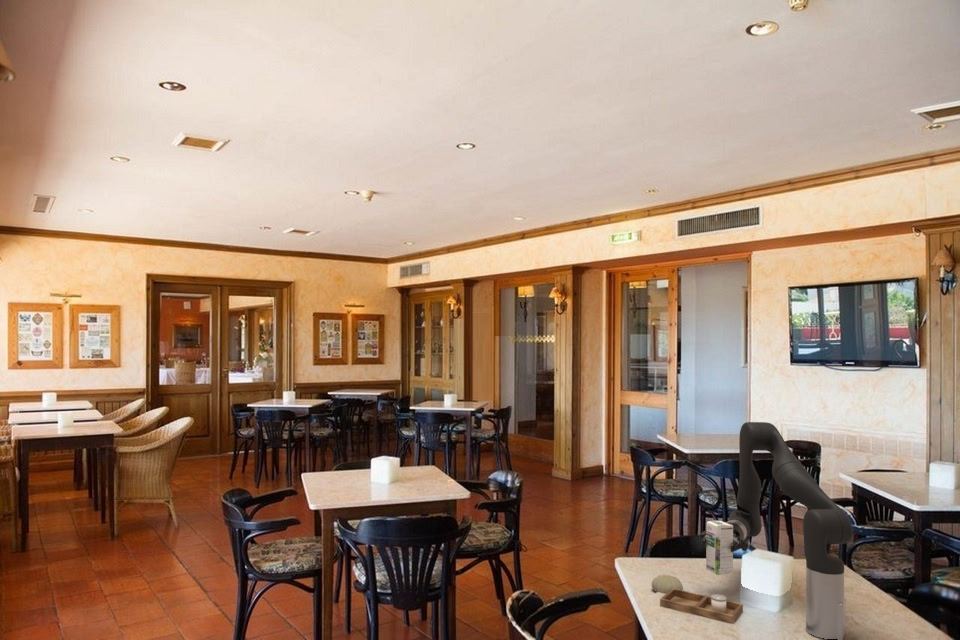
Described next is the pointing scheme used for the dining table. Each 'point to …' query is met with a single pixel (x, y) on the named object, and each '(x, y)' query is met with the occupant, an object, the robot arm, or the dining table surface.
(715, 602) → the translucent white cylinder
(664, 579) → the sea urchin shell
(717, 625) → the dining table surface
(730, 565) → the syrup box
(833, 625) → the robot arm
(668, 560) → the dining table surface
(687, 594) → the caddy
